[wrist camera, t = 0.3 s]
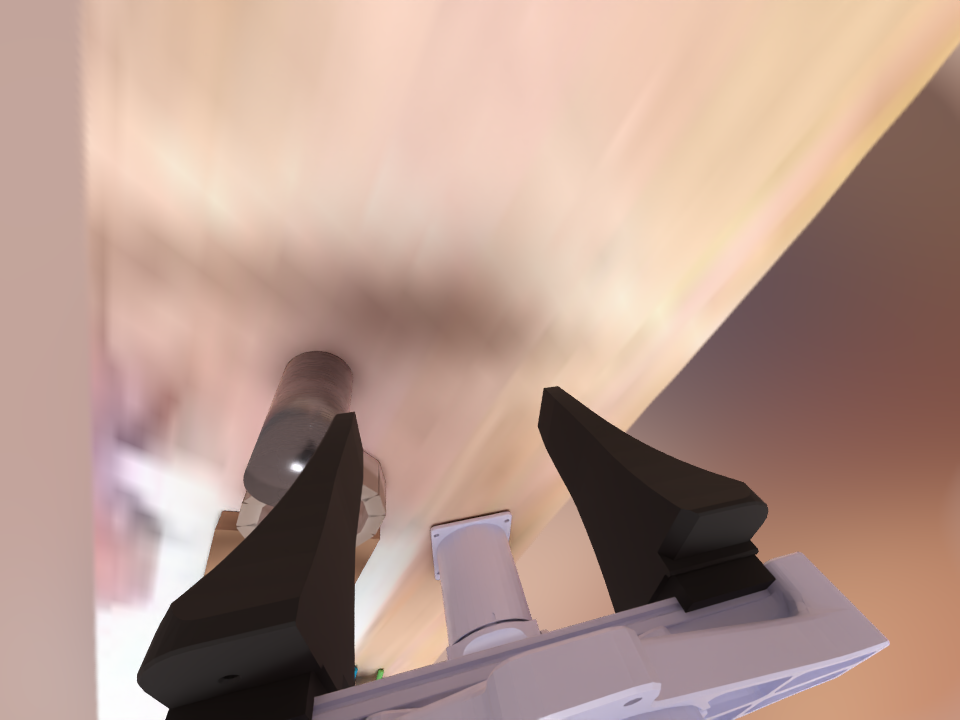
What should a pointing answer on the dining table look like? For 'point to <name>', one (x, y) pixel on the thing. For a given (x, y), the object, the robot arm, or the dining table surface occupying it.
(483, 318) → the dining table surface
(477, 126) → the dining table surface
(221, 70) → the dining table surface
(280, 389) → the hinge pin
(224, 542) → the brown piece
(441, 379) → the dining table surface
